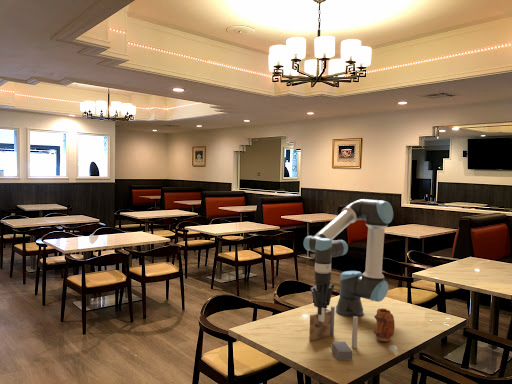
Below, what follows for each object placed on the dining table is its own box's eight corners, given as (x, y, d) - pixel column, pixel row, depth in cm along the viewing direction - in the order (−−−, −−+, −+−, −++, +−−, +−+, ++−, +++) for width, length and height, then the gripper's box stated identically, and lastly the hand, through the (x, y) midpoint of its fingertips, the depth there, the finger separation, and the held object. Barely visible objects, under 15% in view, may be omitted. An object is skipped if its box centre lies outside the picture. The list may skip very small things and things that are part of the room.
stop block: (331, 350, 185) (331, 341, 185) (344, 350, 186) (344, 341, 186) (338, 361, 175) (338, 351, 175) (352, 360, 176) (352, 351, 176)
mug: (370, 335, 202) (372, 305, 201) (387, 335, 203) (388, 305, 202) (382, 349, 188) (384, 316, 187) (399, 348, 188) (401, 316, 187)
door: (328, 334, 201) (329, 310, 201) (332, 336, 199) (333, 312, 198) (309, 339, 195) (310, 314, 194) (312, 341, 193) (313, 316, 192)
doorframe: (324, 332, 205) (325, 304, 204) (327, 331, 206) (328, 304, 205) (353, 348, 188) (355, 317, 187) (356, 347, 189) (358, 317, 188)
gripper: (317, 275, 187) (315, 326, 188) (338, 271, 193) (337, 321, 195) (306, 271, 193) (305, 320, 194) (328, 268, 200) (326, 316, 201)
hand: (321, 320), depth 195 cm, fingers closed
